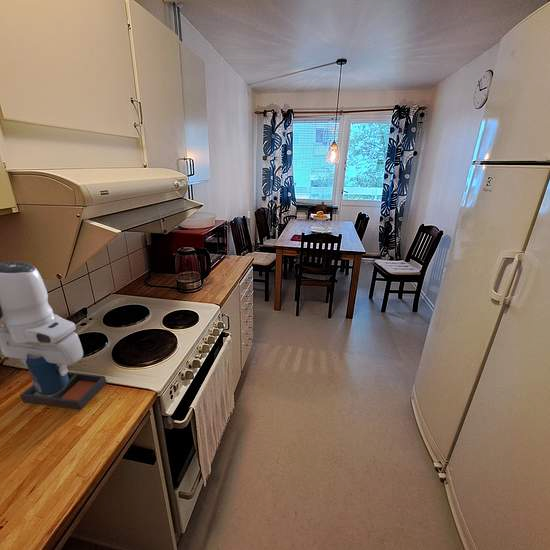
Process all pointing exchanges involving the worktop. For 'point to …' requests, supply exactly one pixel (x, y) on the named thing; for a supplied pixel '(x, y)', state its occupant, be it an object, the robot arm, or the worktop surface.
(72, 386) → the sorting tray
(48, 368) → the soda can
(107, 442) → the worktop surface
